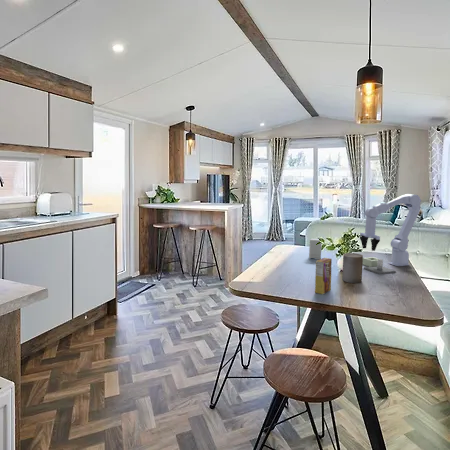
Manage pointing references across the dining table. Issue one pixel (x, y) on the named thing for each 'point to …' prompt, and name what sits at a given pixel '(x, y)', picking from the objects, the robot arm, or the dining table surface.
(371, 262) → the collar
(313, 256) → the supplement box
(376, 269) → the post stand
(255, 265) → the dining table surface
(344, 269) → the pillar candle
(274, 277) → the dining table surface
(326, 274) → the candy box
